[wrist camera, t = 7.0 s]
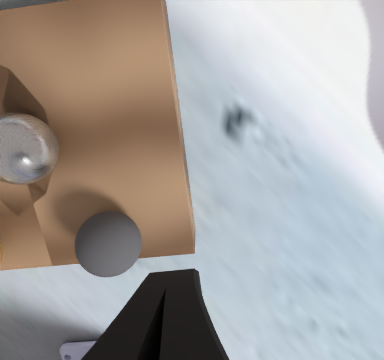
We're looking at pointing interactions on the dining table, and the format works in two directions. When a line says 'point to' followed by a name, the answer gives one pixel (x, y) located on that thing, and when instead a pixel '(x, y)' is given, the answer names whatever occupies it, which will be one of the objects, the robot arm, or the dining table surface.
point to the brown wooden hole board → (95, 127)
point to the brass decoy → (1, 252)
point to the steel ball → (26, 149)
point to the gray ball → (108, 244)
